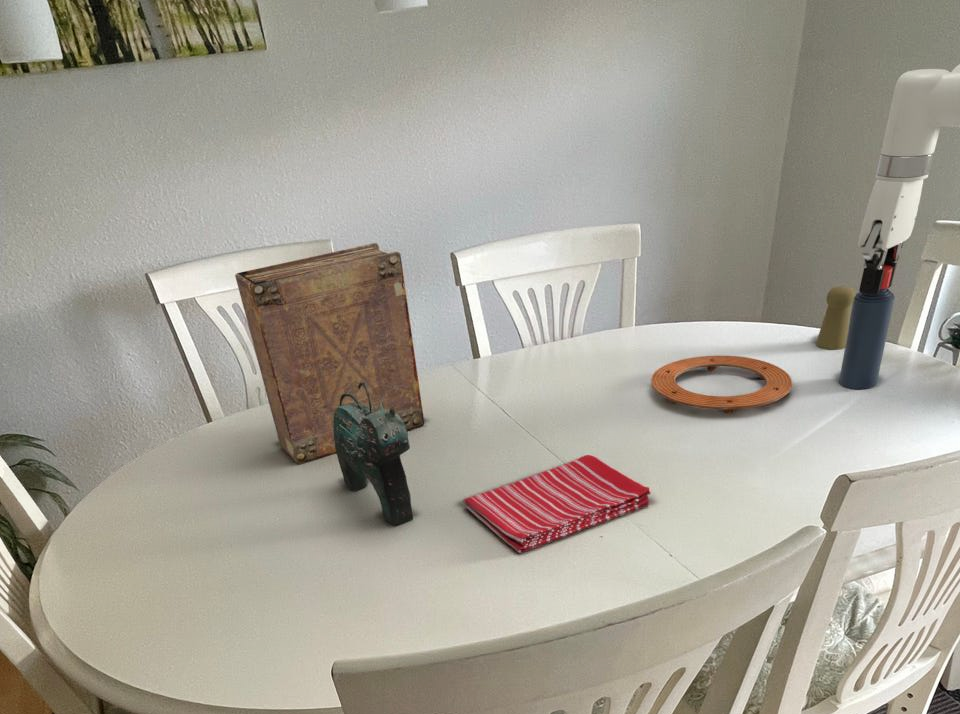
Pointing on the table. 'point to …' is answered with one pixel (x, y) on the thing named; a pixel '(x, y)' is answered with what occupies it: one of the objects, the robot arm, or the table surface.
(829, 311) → the olive pawn figure
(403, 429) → the dark green carved figure
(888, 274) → the cap
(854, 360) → the bottle
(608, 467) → the dish towel
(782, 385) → the ring
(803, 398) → the table surface
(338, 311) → the book
